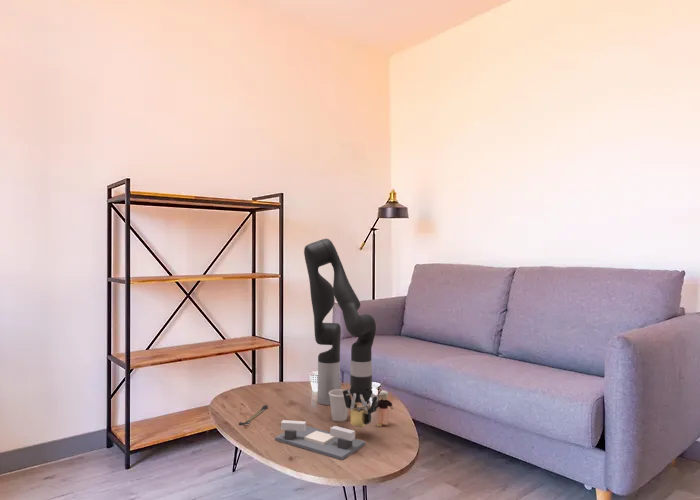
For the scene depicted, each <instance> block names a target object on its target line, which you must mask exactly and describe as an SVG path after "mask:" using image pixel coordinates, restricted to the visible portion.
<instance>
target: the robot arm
mask: <svg viewBox="0 0 700 500" xmlns="http://www.w3.org/2000/svg"><path fill="white" fill-rule="evenodd" d="M303 255H304V260H305V265H306V270H307V274H308V281H309V289H310V290H309V291H310V300H311V306H312V313H313V325H314V329H313V330H314V339H315V343H317V345H320V346H332V347H331V348H330V349H328V350H325V351H323V352H320V353H319V354H318V357H317V403H318V404H320V405H324V406H331V405H330V396H329V392H330V391H332V390H337V389H342V388H341V386H342V385H341V382H342V381H341V379H342V378H341V376H340V375H341V369H340V368H341V354H340V353H341V339H342V336H341V335H342V328H341V325H340V323H337V322H324V320H325V318H326V317H327V316H328V314H329V313H330V312H331V310H332V309H333V307H334V306H335V301H336V303H337V304H338V306H339V308H340V310H341V312H342V317H343V320H344V325H345V327H346V328H345V329H346V330H347V332H348V333H349V334H350V335H351V336H353V337H355V338H357V339H356V341H355V342H354V343H352V344H351V349H350V351H351V352H350V367H349V368H350V369H349V375H350V377H349V378H350V381H349V383H350V385H349V386H350V388H346V389H343V390H344V391H343V395H344V400H345V404H346V407H347V408H348V409H350V411H351V410H352V409H354V408H356V407H357V406H359V403H361V404H362V405H361V406H363V407H364V410H365V413H366V414H365V424H366V425H365V426H367V425H369V424H370V423H371V422H372V421H371V420H372V414H373V413H374V412H377V410H378V408H377V405H378V402H379V400H380V399H381V397H380V394H377V395H376V394H375V393H373V390H372V388H373V363H372V347H373V344H374V340H375V335H376V333H377V332H376V331H377V325H376V324H377V323H376V320H375V318H374V317H373V316H372V315H370V314H367V313H366V314H361V315H360V314H359V312H358V310H359V309H360V308H361V301H360V299H359V297H358V296H357V294H356V293H355V290H354V289H353V287H352V285H351V283H350V281H349V279H348V276H347V274H346V271H345V268H344V267H343V264H342V261H341V258H340V256H339V253H338V251H337V249H336V247H335V245H334V244H333V242H332V240H331V239H329V238H322V239H319V240H317V241H314V242H311V243H309V244H306V245H305V246H304V249H303ZM328 264H331V266H332V270H333V285H332V284H331V283H330V282H329V281H328V280H327V279H326V278H324V277H323V275H321V273H320V271H319V269H320V267H322V266H325V265H328ZM370 399H371V400H370ZM371 401H372V402H371ZM370 421H371V422H370ZM369 422H370V423H369Z"/></svg>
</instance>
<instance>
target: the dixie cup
mask: <svg viewBox="0 0 700 500" xmlns="http://www.w3.org/2000/svg"><path fill="white" fill-rule="evenodd" d="M344 390H345V389H342V388H341V389H337V390H332V391H330V392H329V396H330V405H329V406H330V414H331V420H332V421H334V422H345V421H347V418H348V413H349V408H347V407H346V404H345V400H344V395H343V391H344Z"/></svg>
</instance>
